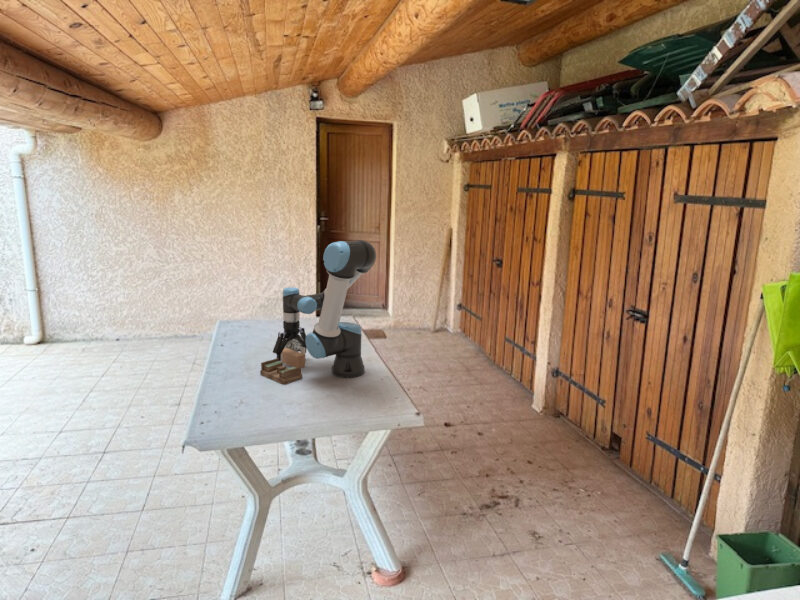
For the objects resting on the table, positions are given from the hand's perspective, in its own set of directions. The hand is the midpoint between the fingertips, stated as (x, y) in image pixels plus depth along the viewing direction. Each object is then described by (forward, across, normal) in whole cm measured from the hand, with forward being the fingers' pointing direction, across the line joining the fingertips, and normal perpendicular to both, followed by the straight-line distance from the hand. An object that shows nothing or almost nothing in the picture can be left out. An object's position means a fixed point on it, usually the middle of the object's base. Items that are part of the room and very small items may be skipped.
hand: (291, 363), depth 245 cm
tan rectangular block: (0, 0, 0) cm, 0 cm away
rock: (+1, -16, -18) cm, 24 cm away
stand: (0, +14, +10) cm, 17 cm away
